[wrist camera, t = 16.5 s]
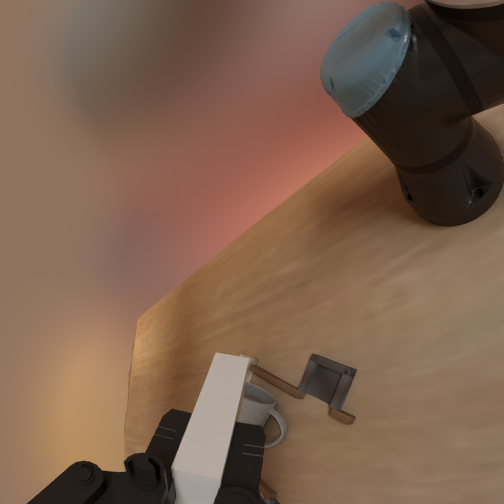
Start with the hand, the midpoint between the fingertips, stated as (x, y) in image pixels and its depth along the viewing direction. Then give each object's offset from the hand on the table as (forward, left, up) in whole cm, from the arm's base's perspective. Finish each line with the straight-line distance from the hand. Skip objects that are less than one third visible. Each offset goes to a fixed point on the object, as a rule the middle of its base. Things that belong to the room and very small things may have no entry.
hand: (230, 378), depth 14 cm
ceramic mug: (+11, -22, -26) cm, 36 cm away
